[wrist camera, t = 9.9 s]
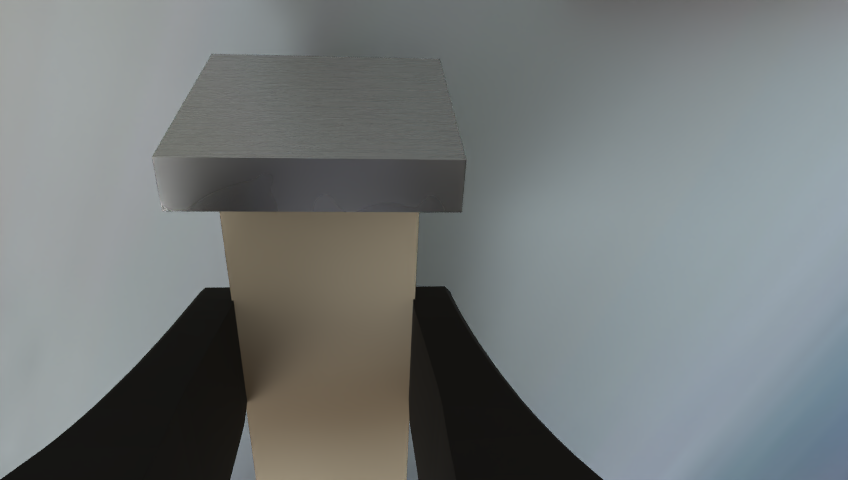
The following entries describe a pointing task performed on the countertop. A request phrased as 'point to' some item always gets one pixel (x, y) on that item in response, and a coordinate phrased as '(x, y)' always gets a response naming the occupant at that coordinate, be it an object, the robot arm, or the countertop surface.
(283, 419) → the capped square post
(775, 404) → the countertop surface
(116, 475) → the robot arm
